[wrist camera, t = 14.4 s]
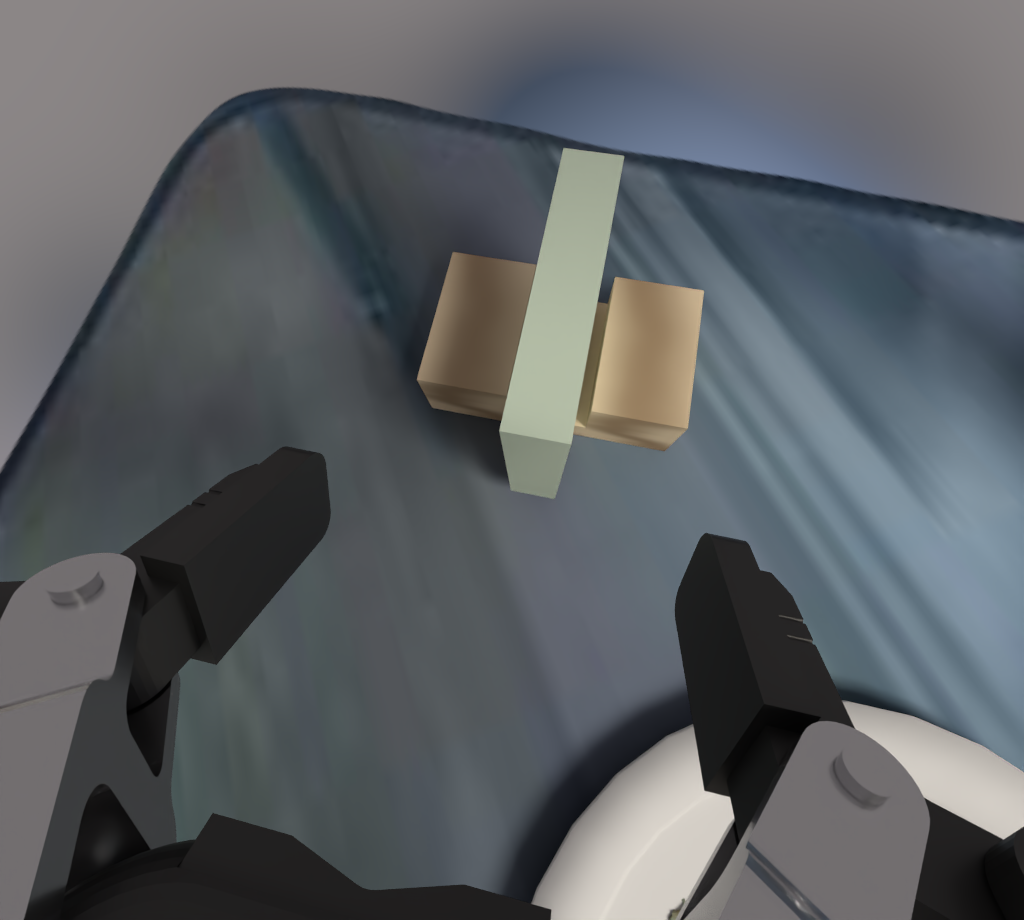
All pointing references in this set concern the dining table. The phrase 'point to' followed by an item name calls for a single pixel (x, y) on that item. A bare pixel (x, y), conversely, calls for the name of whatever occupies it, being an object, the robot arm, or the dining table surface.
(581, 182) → the sage plate
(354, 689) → the dining table surface
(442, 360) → the slotted maple beam
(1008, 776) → the plated food
